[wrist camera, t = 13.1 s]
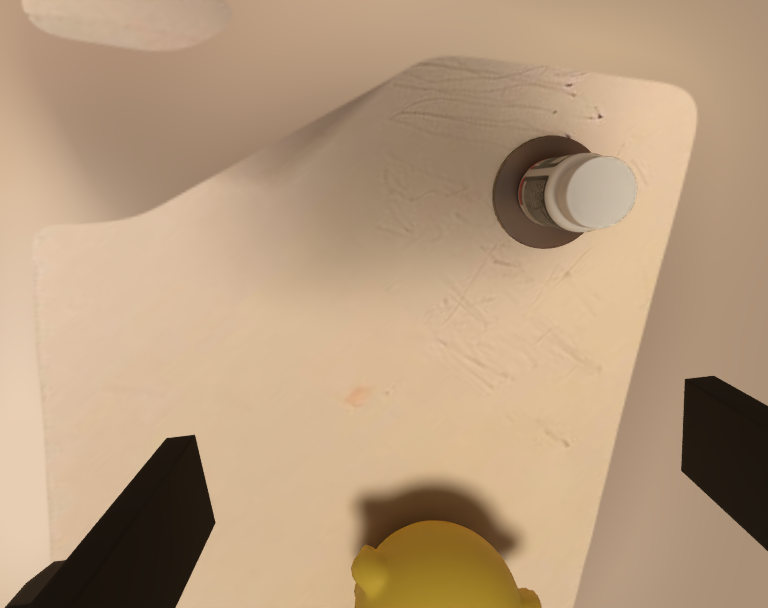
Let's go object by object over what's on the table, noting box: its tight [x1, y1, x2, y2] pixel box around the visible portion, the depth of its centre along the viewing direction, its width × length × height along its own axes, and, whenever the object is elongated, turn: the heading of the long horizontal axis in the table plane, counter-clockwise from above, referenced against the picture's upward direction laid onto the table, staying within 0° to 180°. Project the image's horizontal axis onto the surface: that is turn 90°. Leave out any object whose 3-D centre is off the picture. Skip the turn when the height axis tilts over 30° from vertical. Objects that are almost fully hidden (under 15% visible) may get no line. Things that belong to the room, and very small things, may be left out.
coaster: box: [493, 136, 591, 249], centre depth 35 cm, size 8×8×1 cm
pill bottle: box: [518, 153, 637, 232], centre depth 31 cm, size 5×5×8 cm
